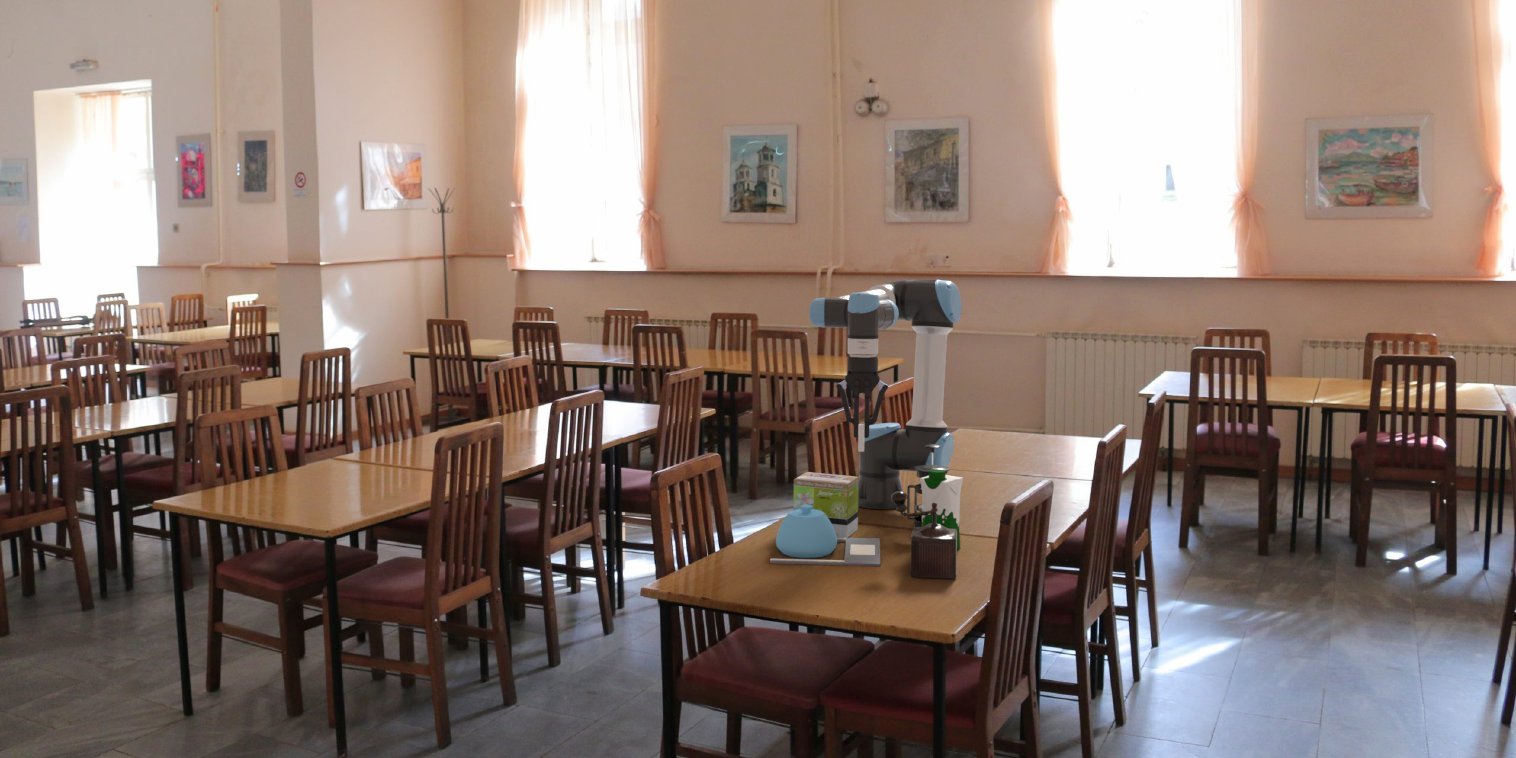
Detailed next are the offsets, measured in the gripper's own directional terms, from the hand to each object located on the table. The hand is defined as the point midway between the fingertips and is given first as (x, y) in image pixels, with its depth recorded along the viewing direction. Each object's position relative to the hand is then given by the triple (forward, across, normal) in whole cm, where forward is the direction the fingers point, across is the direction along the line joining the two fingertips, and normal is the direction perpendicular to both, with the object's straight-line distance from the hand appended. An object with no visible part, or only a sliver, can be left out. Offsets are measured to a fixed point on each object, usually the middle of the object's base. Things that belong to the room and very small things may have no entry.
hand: (861, 450), depth 287 cm
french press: (+24, +18, +17) cm, 34 cm away
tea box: (+24, -9, +14) cm, 29 cm away
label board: (+24, -7, -5) cm, 26 cm away
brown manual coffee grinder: (+25, +15, -20) cm, 35 cm away
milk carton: (+24, +20, 0) cm, 32 cm away
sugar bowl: (+25, -13, -5) cm, 28 cm away
